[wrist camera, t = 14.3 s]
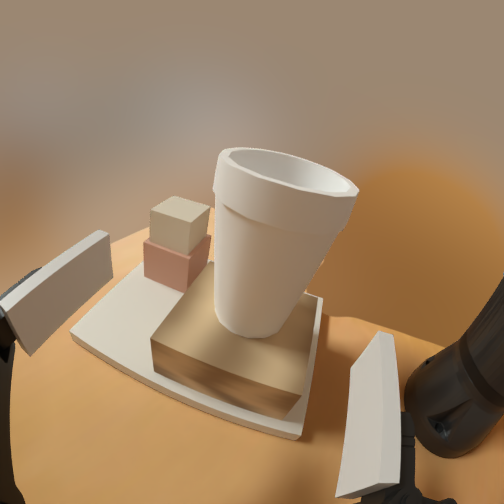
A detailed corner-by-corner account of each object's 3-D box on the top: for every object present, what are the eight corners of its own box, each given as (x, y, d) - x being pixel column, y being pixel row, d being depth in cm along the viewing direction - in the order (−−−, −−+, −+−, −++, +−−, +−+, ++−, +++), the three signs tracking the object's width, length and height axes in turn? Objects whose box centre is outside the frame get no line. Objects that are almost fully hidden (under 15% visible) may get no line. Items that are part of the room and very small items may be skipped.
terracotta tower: (206, 268, 36) (216, 206, 31) (186, 294, 31) (192, 226, 26) (168, 253, 37) (172, 193, 32) (144, 276, 32) (143, 210, 27)
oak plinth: (302, 329, 30) (318, 297, 28) (281, 420, 20) (301, 395, 17) (205, 295, 32) (210, 260, 29) (153, 371, 22) (150, 338, 19)
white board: (319, 306, 37) (322, 298, 36) (295, 440, 20) (301, 435, 19) (163, 251, 40) (163, 243, 39) (72, 339, 23) (69, 330, 22)
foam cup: (319, 340, 22) (386, 203, 16) (216, 364, 18) (255, 189, 12) (272, 274, 29) (308, 156, 23) (187, 281, 25) (205, 142, 19)
